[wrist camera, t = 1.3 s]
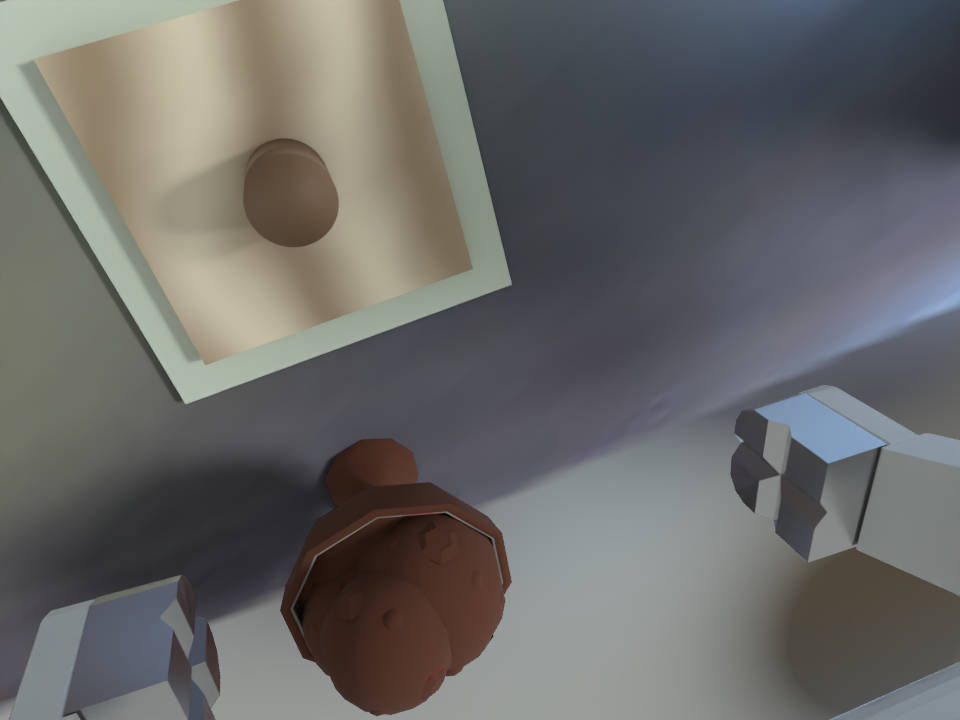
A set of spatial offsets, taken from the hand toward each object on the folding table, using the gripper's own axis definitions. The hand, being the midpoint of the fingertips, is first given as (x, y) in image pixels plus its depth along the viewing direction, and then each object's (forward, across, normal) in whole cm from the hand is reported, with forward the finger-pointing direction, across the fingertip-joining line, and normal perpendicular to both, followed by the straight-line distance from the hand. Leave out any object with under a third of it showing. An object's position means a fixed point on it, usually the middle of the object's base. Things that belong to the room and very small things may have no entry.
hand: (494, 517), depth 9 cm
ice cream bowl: (+25, 0, +18) cm, 31 cm away
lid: (+24, +1, 0) cm, 25 cm away
